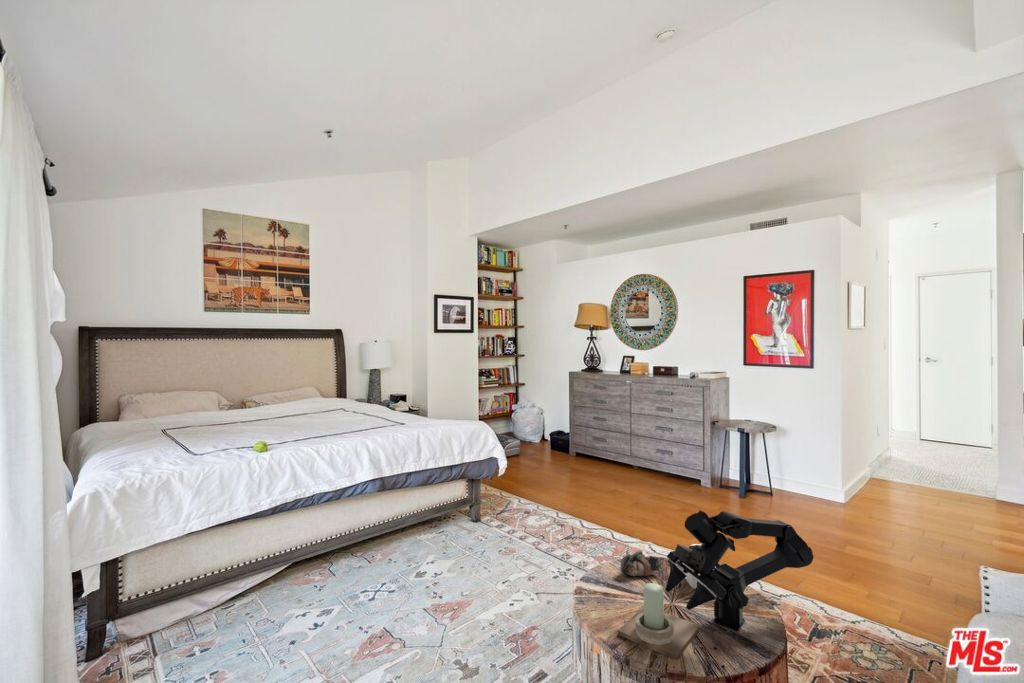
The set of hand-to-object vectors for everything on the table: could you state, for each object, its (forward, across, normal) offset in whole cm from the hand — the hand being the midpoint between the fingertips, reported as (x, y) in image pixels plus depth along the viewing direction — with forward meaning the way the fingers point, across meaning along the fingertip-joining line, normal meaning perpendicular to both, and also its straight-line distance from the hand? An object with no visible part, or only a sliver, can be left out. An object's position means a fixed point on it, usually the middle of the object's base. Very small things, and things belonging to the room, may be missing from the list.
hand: (676, 599), depth 128 cm
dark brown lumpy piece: (+1, -31, +12) cm, 34 cm away
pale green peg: (+10, 0, 0) cm, 10 cm away
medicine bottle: (-9, -20, +23) cm, 32 cm away
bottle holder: (+10, -2, +3) cm, 10 cm away
